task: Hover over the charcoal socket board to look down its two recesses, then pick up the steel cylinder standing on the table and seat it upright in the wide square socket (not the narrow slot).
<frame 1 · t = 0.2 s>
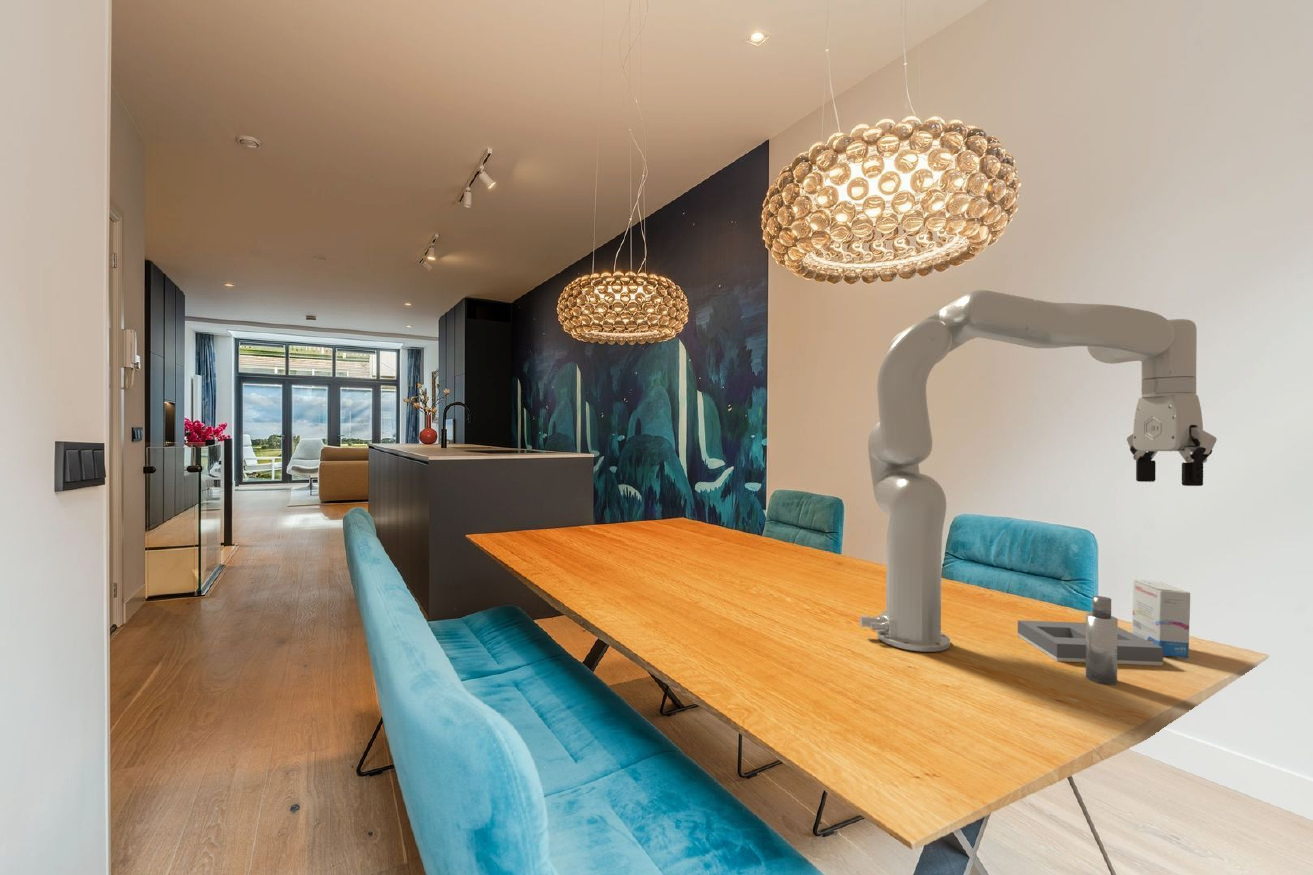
hand: (1168, 483, 107), 30 cm above the table, fingers open, 9 cm apart
socket board: (1085, 649, 107), on the table
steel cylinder: (1101, 679, 94), on the table
ink box: (1159, 650, 108), on the table
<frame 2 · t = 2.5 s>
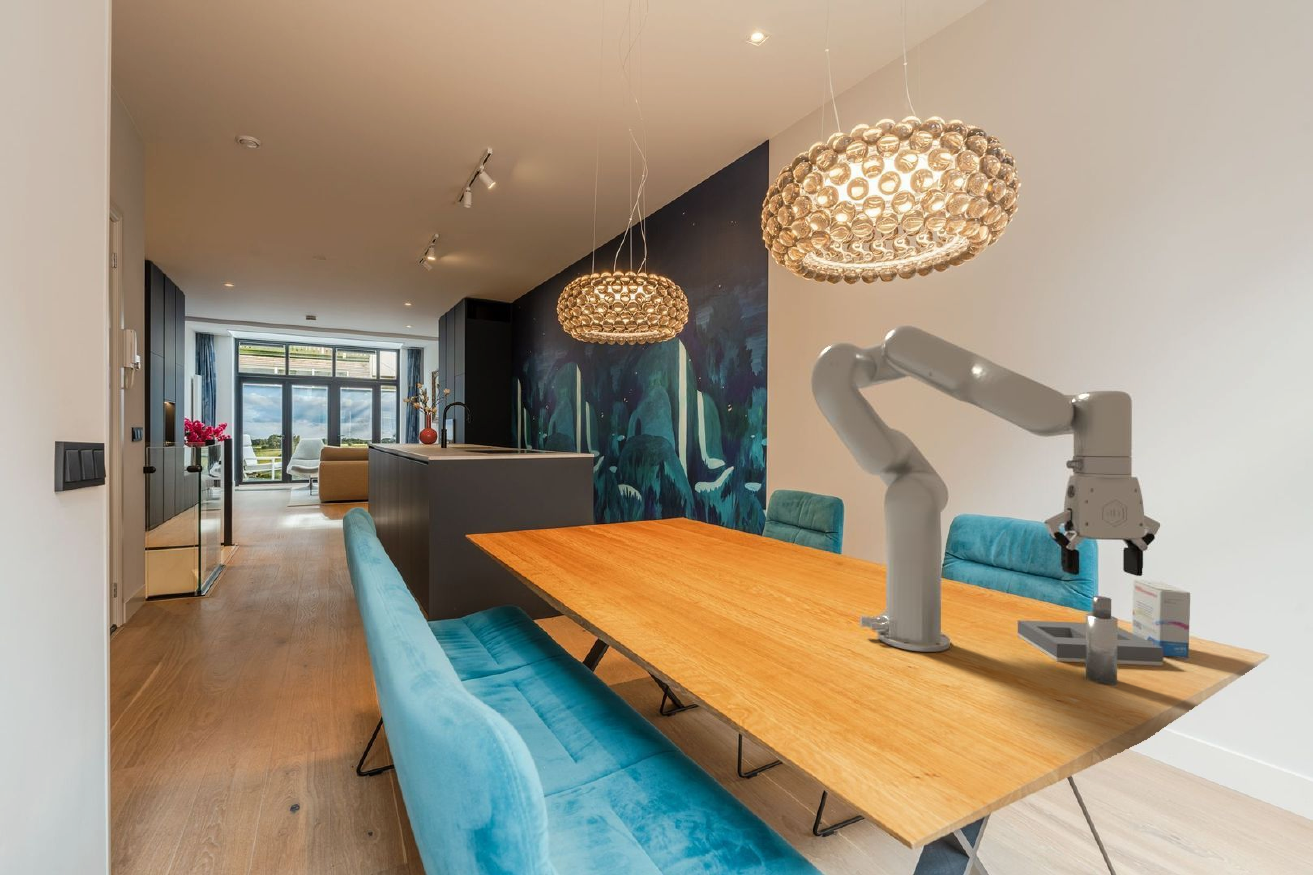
hand: (1101, 573, 95), 17 cm above the table, fingers open, 9 cm apart
nothing on the table moved.
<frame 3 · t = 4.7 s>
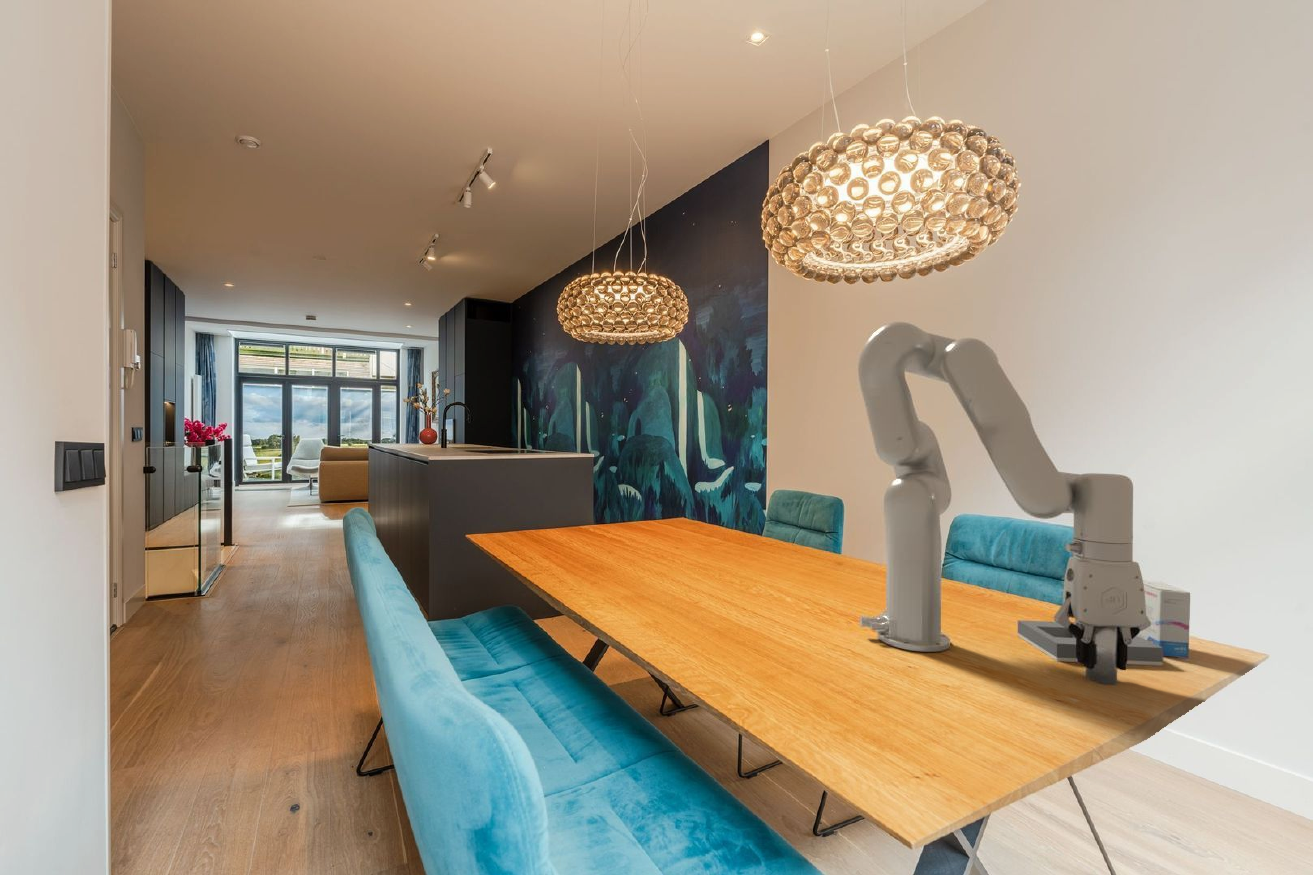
hand: (1101, 664, 94), 2 cm above the table, fingers closed on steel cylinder, 4 cm apart
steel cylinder: (1101, 679, 94), on the table, touching gripper
everything else where it was.
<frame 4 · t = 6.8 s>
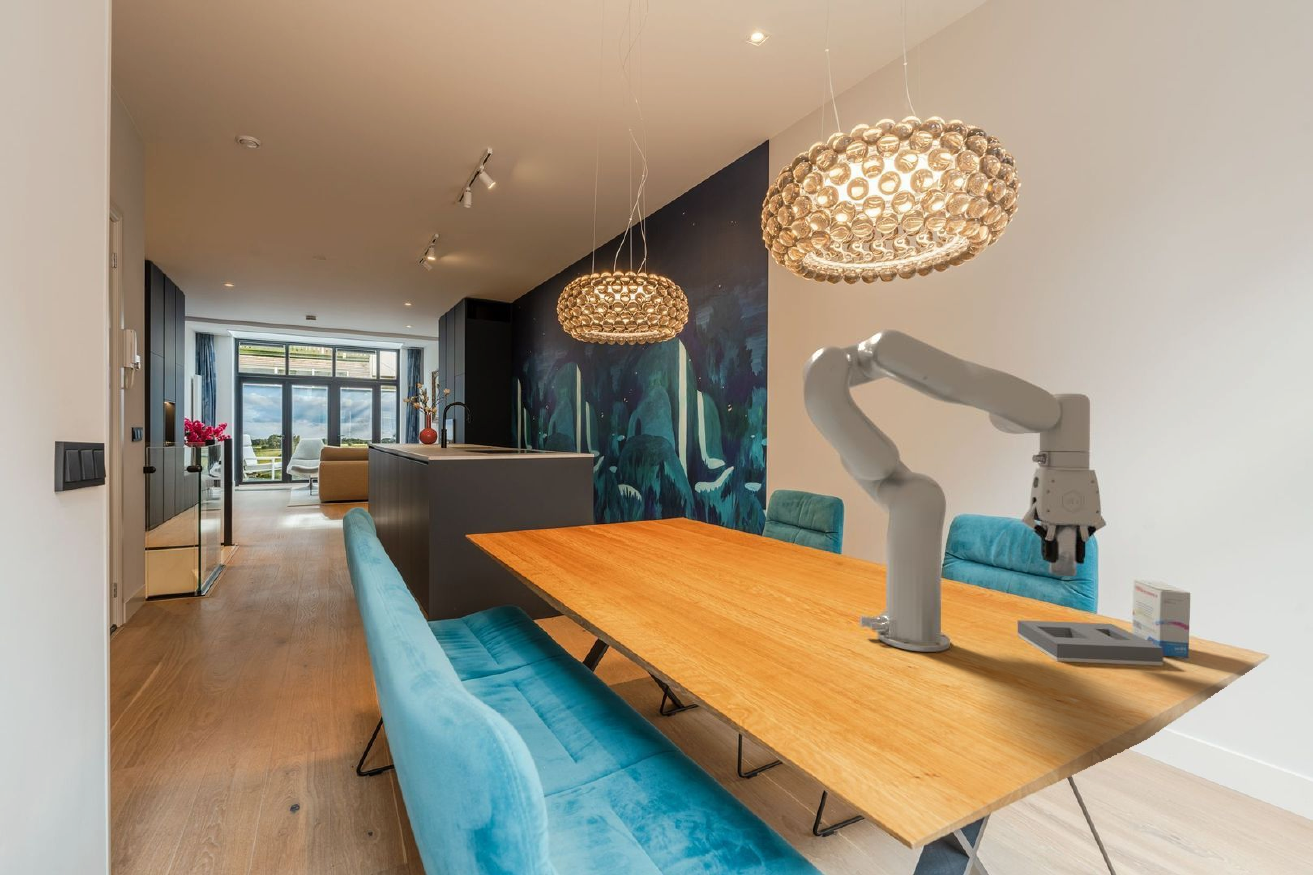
hand: (1063, 560, 107), 16 cm above the table, fingers closed on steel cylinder, 4 cm apart
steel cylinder: (1062, 573, 107), point 14 cm above the table, touching gripper
everything else where it was.
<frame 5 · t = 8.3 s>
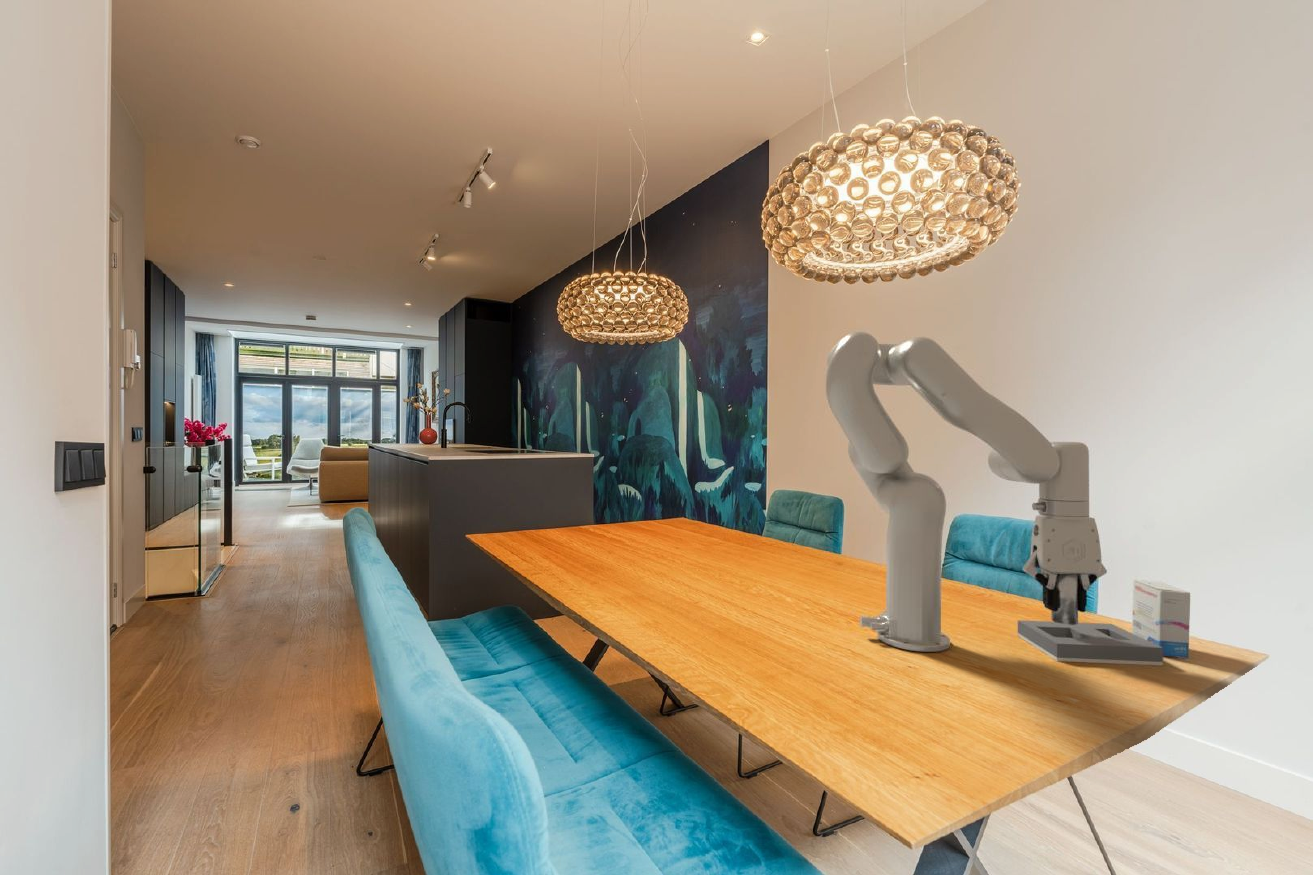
hand: (1064, 608, 107), 7 cm above the table, fingers closed on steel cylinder, 4 cm apart
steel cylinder: (1064, 621, 107), point 5 cm above the table, touching gripper
everything else where it was.
when the fingers open (4 cm above the table, at t = 9.3 s): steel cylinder stays where it is, resting on socket board.
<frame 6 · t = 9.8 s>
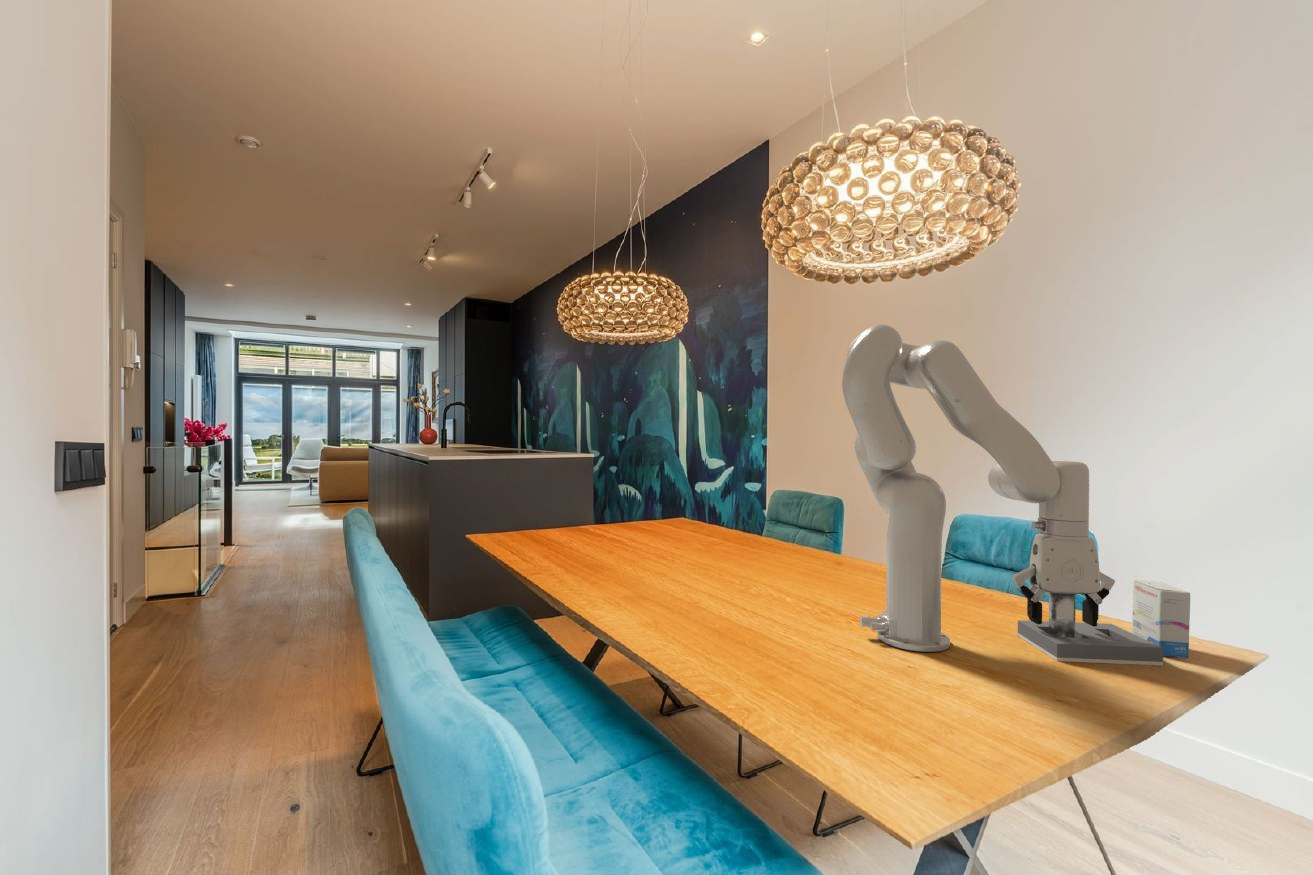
hand: (1062, 622, 107), 5 cm above the table, fingers open, 9 cm apart
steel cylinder: (1061, 645, 107), point 1 cm above the table, touching socket board
everything else where it was.
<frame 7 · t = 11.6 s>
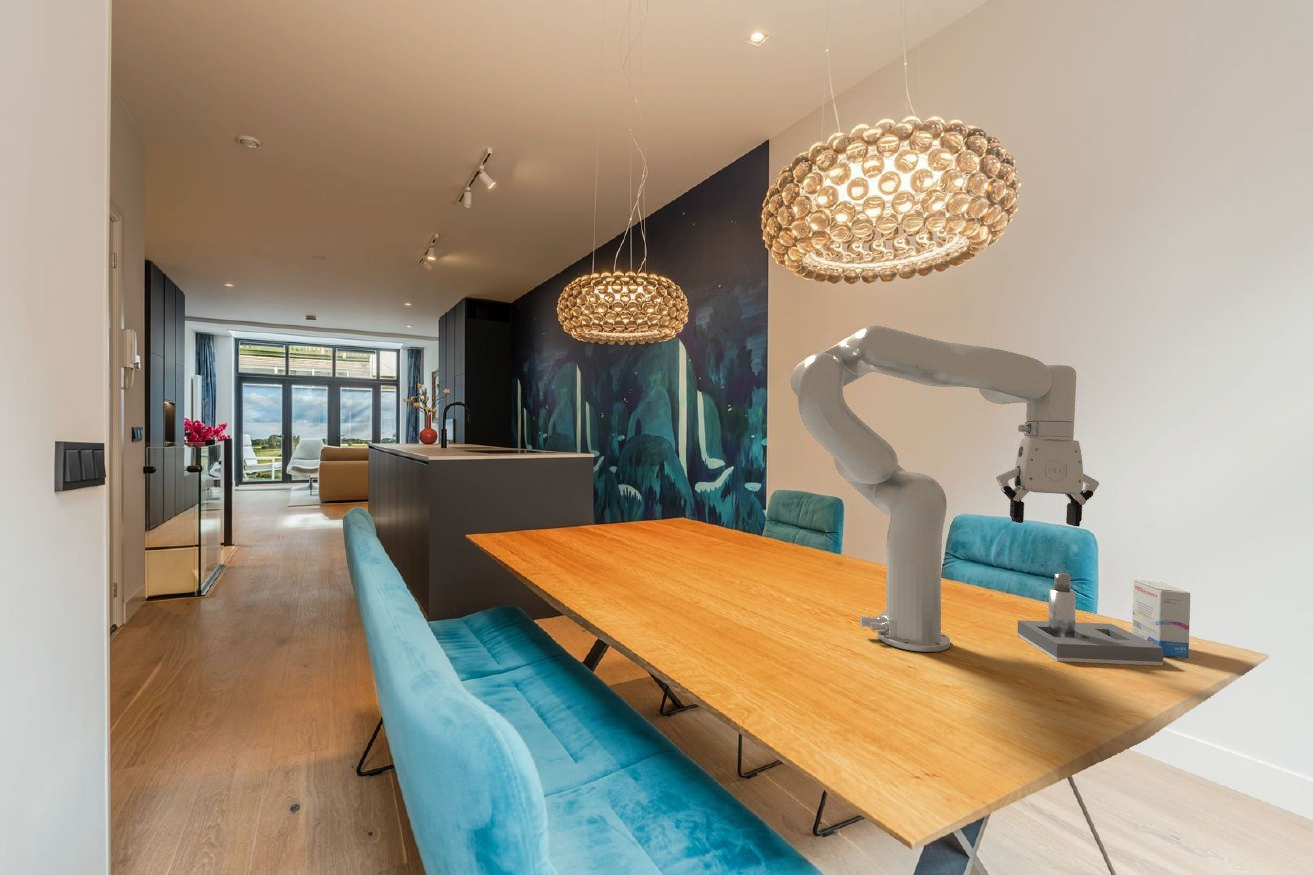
hand: (1044, 523, 110), 22 cm above the table, fingers open, 9 cm apart
nothing on the table moved.
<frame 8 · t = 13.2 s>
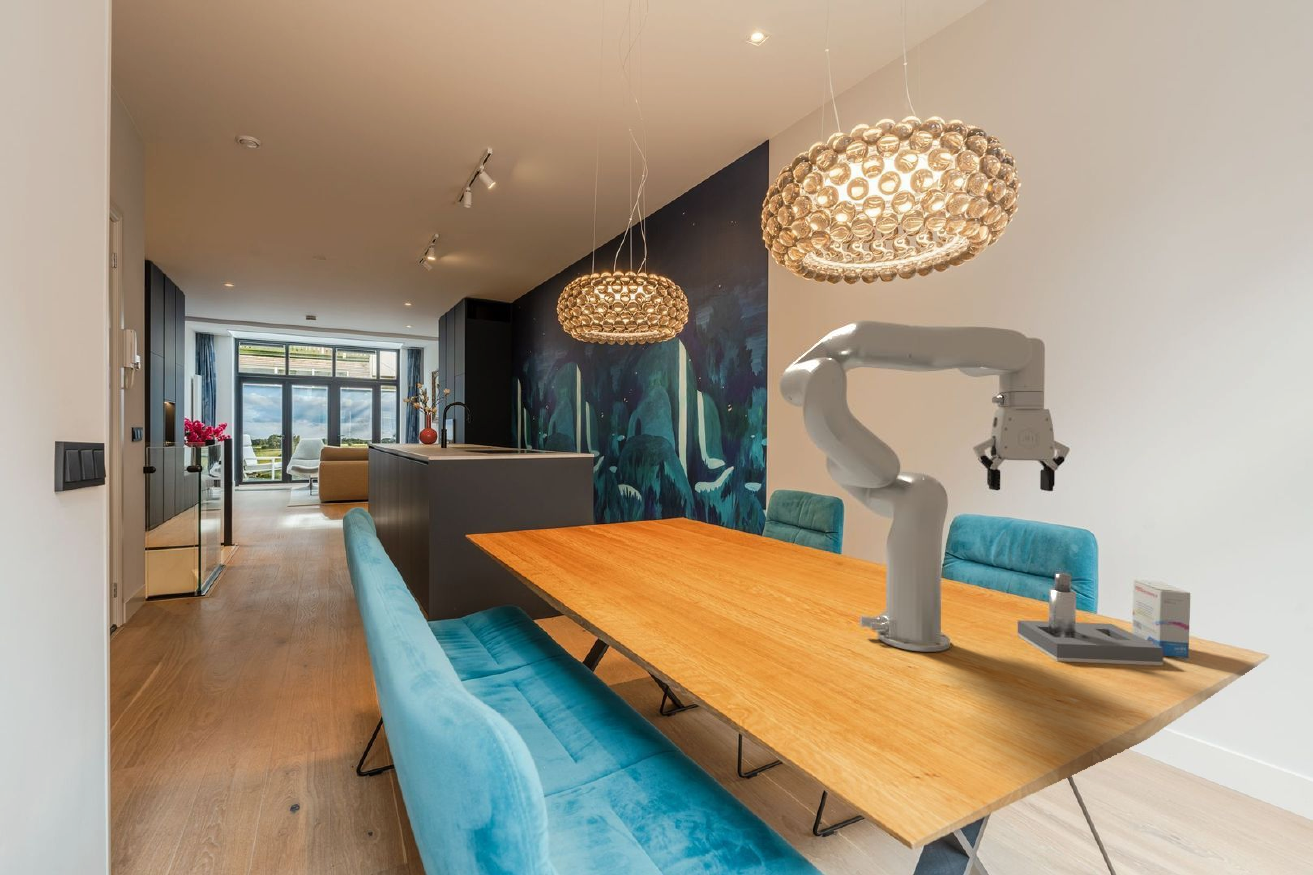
hand: (1020, 490, 115), 28 cm above the table, fingers open, 9 cm apart
nothing on the table moved.
at the end: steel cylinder 0.1 cm from the target spot on the socket board, point 0.6 cm above the socket board's base; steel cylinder tilted 0°; the gripper is holding nothing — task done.
